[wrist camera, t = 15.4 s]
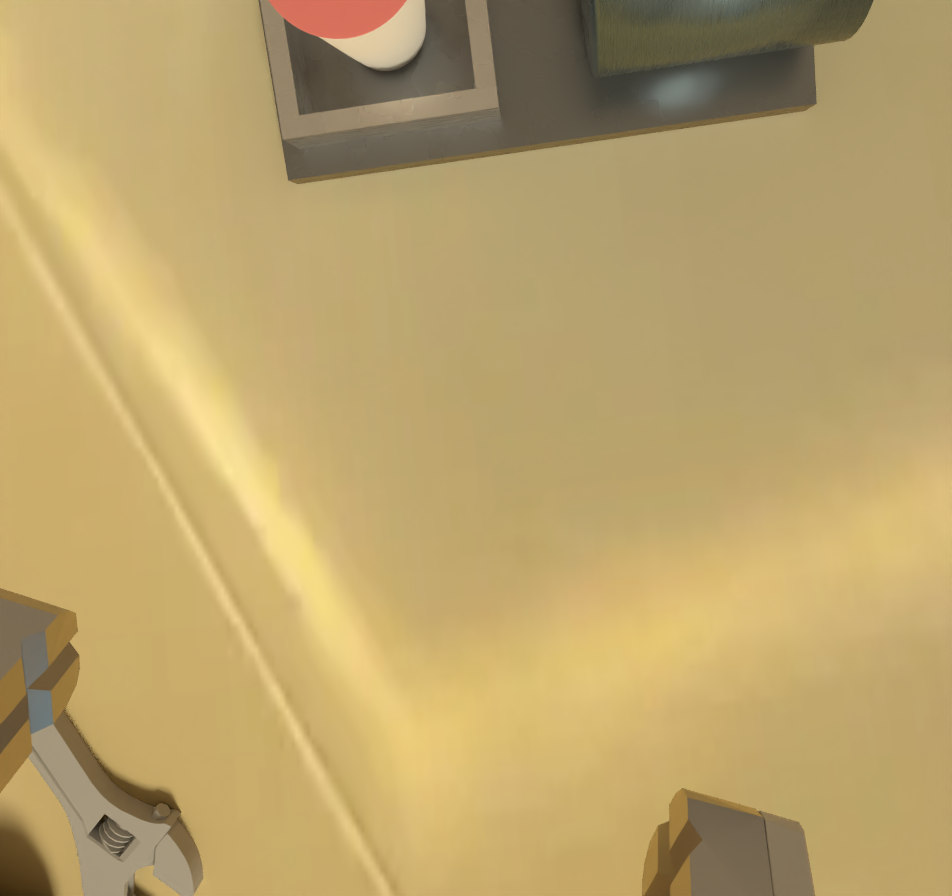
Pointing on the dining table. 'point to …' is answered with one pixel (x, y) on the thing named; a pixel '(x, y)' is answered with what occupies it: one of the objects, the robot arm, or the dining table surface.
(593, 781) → the dining table surface
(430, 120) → the base
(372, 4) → the cup
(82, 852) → the adjustable wrench
